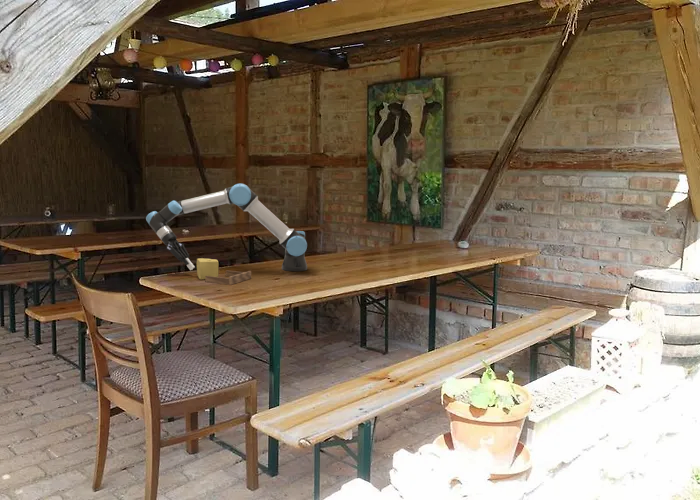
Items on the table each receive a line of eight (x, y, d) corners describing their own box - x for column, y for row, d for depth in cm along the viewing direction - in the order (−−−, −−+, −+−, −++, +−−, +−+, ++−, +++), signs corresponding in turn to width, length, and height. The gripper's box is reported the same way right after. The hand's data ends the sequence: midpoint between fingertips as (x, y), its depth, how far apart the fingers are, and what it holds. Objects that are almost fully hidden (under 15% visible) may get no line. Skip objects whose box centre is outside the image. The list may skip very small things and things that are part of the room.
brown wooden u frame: (226, 275, 336) (226, 268, 336) (251, 278, 331) (251, 271, 330) (205, 281, 317) (205, 274, 317) (231, 284, 312) (231, 277, 311)
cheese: (215, 275, 335) (215, 257, 334) (219, 279, 325) (219, 260, 324) (196, 276, 332) (196, 258, 330) (199, 280, 322) (199, 261, 320)
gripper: (170, 239, 342) (195, 271, 339) (155, 241, 330) (181, 274, 327) (178, 230, 340) (203, 262, 336) (163, 232, 328) (189, 265, 324)
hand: (192, 268), depth 331 cm, fingers closed
